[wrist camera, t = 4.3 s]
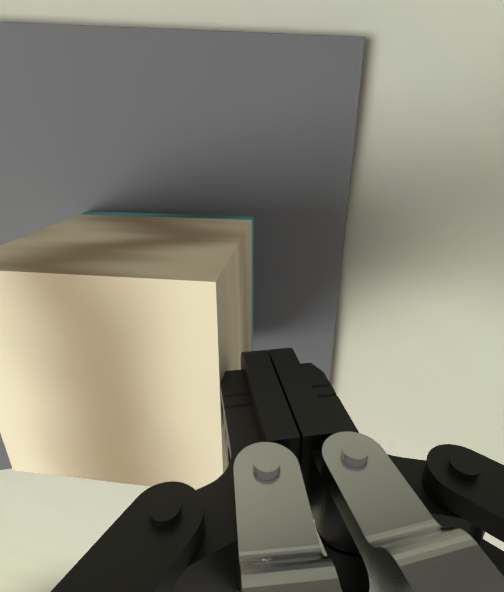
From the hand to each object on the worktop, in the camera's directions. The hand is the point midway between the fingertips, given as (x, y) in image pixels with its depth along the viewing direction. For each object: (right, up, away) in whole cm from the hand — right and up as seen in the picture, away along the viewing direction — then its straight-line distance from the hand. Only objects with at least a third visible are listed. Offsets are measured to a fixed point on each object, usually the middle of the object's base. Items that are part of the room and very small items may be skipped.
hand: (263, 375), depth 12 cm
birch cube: (-4, +2, +6) cm, 7 cm away
